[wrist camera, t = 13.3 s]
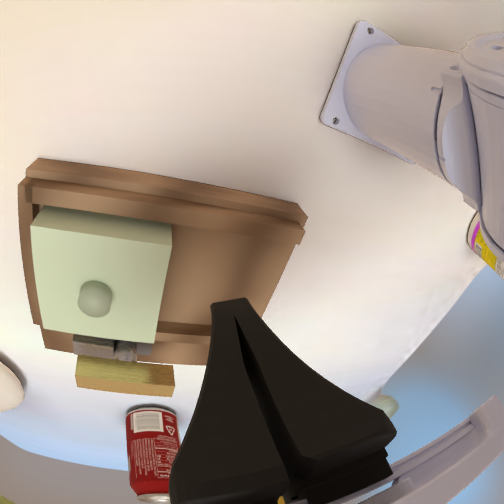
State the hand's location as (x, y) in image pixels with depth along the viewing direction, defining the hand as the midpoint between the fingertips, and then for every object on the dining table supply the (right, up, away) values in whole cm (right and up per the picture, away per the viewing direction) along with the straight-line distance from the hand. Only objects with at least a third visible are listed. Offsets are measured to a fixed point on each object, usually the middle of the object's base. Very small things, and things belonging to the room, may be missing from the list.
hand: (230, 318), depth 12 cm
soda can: (-12, -18, +23) cm, 32 cm away
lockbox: (-7, +1, +11) cm, 13 cm away
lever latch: (-9, -4, +10) cm, 14 cm away
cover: (-9, +2, +7) cm, 11 cm away
